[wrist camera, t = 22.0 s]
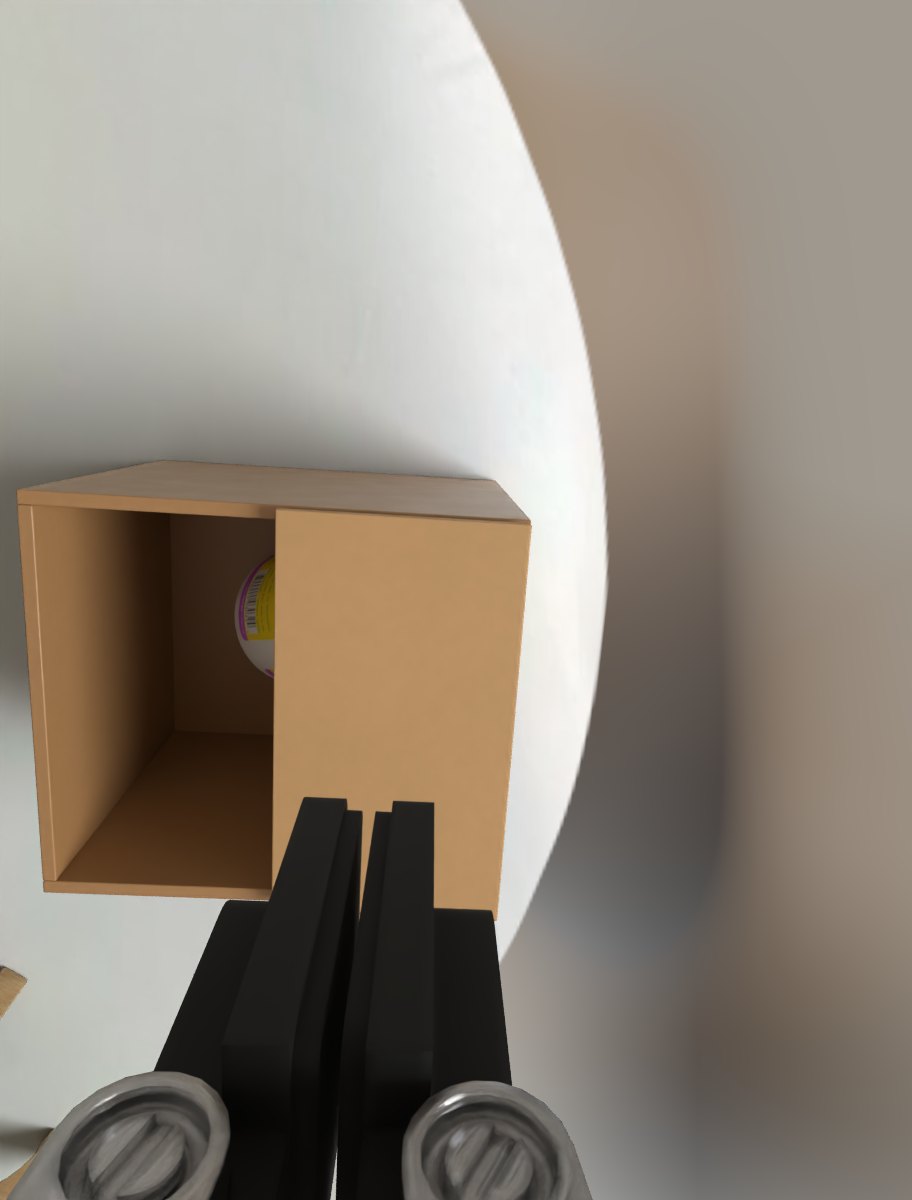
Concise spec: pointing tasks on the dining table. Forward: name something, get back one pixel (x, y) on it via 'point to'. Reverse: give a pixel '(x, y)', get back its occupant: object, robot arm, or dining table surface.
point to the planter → (3, 992)
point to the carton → (170, 664)
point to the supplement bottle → (257, 615)
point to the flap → (400, 679)
